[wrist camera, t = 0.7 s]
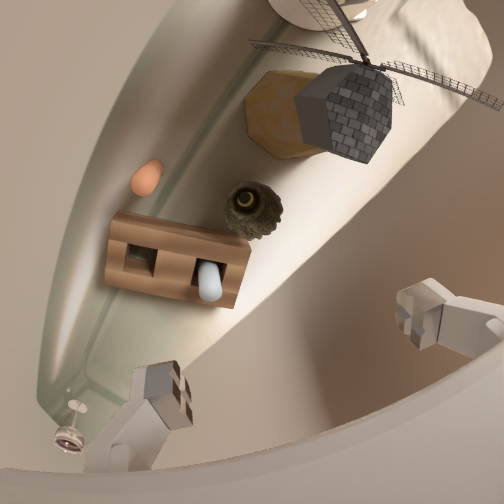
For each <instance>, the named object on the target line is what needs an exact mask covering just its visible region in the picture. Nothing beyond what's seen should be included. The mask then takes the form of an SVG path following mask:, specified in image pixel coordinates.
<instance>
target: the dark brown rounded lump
mask: <svg viewBox="0 0 504 504" xmlns="http://www.w3.org/2000/svg"><path fill="white" fill-rule="evenodd" d="M242 193H248V194H249V195H250V200H249V202H248V203H242V202H240V200H239V197H240V195H241V194H242ZM280 201H281V199H280V197H279V196H278V195H276V194H275V192H274V191H273V190H272V189H270V187H268V186H266V185H263V184H260V183H257V182H252V181H248V182H242V183H240V184H238V185H236V186H235V187H233V188H232V189H231V191H230V192H229V194H228V195H227V198H226V202H225V213H224V217H225V221H226V223H227V225H228V228H229V229H230V230H233V231H234V232H235V233H237V234H238V235H239V237H240V238H243V237H244V238H245V239H246V240H248V241H251V240H253V239H254V238H257V239H261V238H262V235H270V234H271V232H272V231H274V230H276V227H277V224H276V222H279V223H280V222H281V219H280V215H281V214H282V213H283V207H282V204H281V202H280Z"/></svg>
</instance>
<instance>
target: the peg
mask: <svg viewBox="0 0 504 504" xmlns="http://www.w3.org/2000/svg"><path fill="white" fill-rule="evenodd" d="M163 172H164V167H163V165H162V163H161V162H160V161H158V160H150V161H148V162H147V163H146V164H145V165H143V166H142V167H141V168H140V169H139V170H138V171H137V172H136V173H135V174H134V175H133V176H132V178H131V181H130V185H131V189H132V190H133V192H134V193H136V194H137V195H140V196H146V195H149V194H150V193H152V192H153V190H154V189H155V187H156V185H157V183H158V182H159V180H160V178H161V177H162V175H163Z"/></svg>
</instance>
